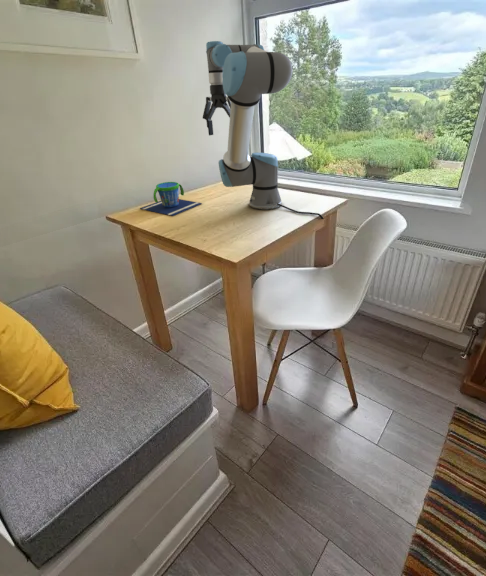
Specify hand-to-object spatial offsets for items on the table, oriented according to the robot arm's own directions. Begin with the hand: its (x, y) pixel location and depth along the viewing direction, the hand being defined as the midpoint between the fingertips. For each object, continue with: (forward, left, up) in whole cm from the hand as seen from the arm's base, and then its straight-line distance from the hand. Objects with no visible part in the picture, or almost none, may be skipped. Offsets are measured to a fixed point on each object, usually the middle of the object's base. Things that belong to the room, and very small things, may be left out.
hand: (221, 135), depth 158 cm
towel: (+12, +29, -29) cm, 43 cm away
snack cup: (+12, +29, -28) cm, 42 cm away
